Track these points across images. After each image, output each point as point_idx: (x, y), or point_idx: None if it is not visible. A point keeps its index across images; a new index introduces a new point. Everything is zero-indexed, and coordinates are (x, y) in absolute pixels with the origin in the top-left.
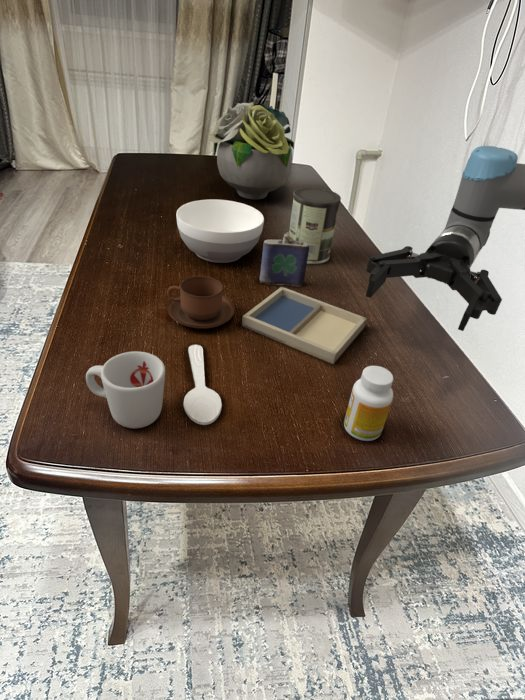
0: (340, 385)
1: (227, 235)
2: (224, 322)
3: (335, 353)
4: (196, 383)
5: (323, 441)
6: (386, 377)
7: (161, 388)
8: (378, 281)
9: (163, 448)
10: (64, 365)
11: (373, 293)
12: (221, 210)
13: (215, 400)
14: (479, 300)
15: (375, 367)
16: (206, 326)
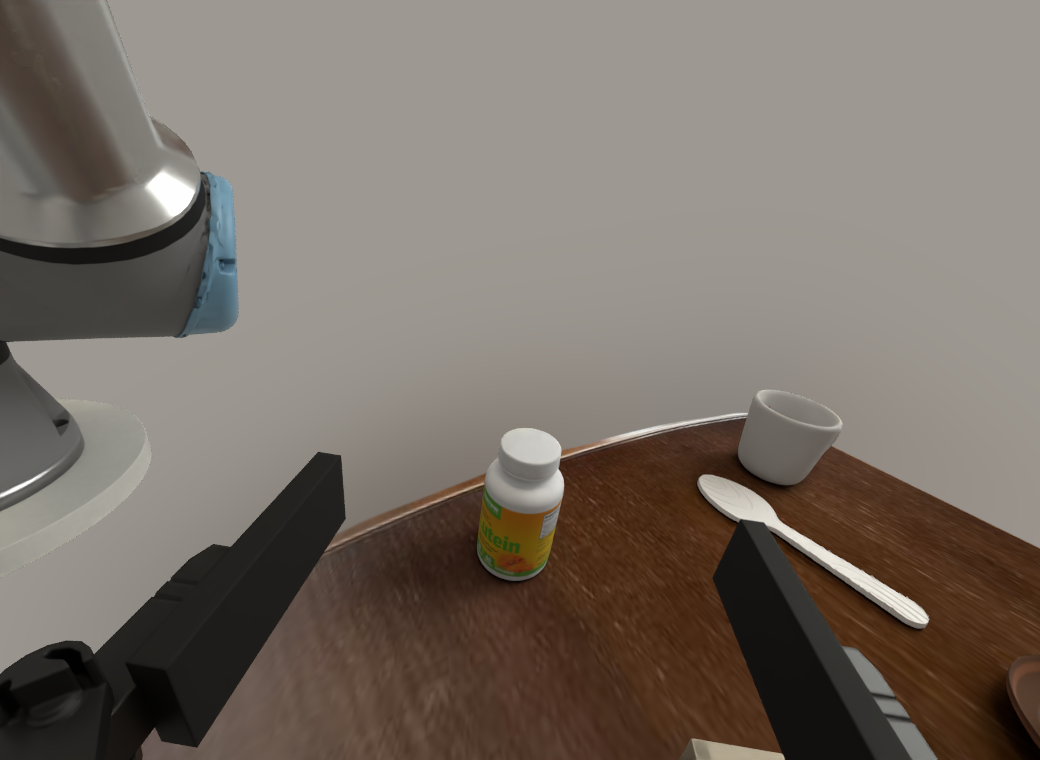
0: (606, 661)
1: None
2: (1032, 733)
3: (694, 743)
4: (787, 527)
5: None
6: (514, 443)
7: (757, 422)
8: (760, 599)
9: (697, 447)
10: (922, 503)
11: (727, 603)
12: None
13: (732, 508)
14: (128, 675)
15: (543, 457)
16: (1007, 678)
